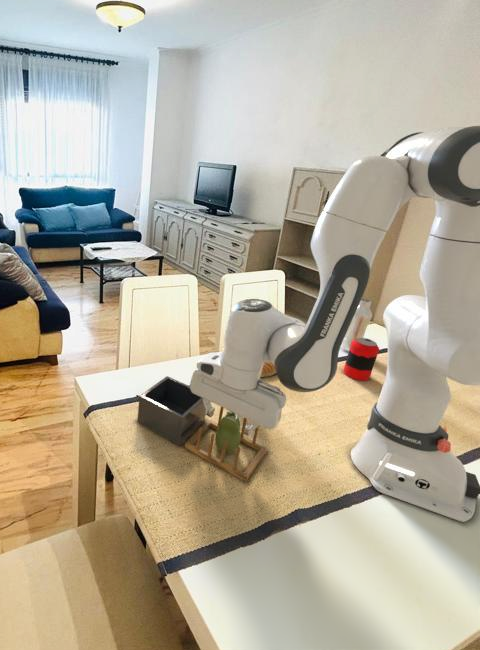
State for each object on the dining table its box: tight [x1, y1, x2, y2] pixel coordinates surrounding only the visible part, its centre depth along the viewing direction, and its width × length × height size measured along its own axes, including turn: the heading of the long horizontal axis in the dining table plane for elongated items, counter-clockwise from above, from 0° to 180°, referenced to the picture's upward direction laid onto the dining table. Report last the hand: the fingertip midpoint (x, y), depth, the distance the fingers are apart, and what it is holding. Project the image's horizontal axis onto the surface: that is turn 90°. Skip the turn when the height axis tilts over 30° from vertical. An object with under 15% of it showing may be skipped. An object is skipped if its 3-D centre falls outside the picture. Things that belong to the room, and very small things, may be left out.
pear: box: [214, 411, 241, 454], centre depth 88 cm, size 6×5×10 cm
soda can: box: [342, 337, 380, 381], centre depth 123 cm, size 8×8×12 cm
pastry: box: [260, 361, 277, 378], centre depth 123 cm, size 9×7×4 cm
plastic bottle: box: [341, 297, 373, 352], centre depth 138 cm, size 6×7×20 cm
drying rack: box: [184, 406, 268, 482], centre depth 89 cm, size 15×12×7 cm
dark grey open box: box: [136, 375, 207, 447], centre depth 97 cm, size 13×13×8 cm
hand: (227, 424), depth 88 cm, fingers open, 8 cm apart
